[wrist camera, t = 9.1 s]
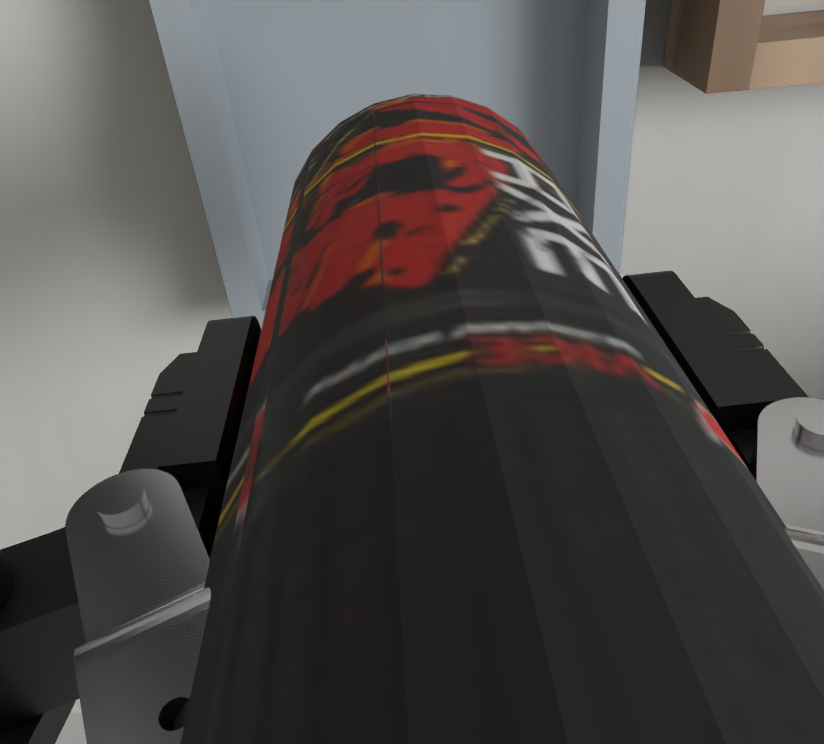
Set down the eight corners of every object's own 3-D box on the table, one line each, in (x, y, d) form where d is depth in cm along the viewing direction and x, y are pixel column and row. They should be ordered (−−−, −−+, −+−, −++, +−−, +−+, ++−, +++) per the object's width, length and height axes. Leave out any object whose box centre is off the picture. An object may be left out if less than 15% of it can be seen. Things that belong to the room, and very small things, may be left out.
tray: (625, -170, 19) (663, -178, 17) (593, 263, 27) (616, 302, 24) (148, -123, 19) (116, -123, 17) (250, 296, 27) (238, 339, 24)
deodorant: (593, 120, 14) (2011, 1557, 2) (518, 361, 18) (884, 1475, 5) (299, 69, 13) (-365, 2054, 1) (277, 333, 17) (43, 1589, 4)
